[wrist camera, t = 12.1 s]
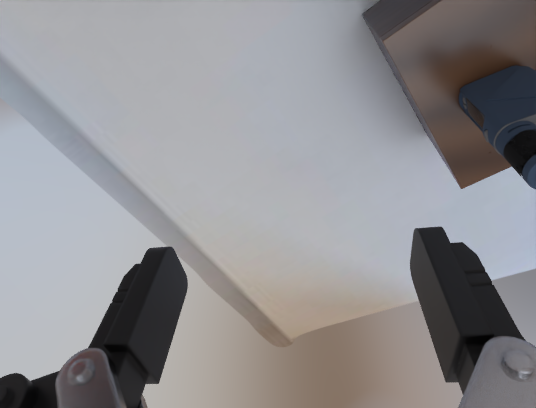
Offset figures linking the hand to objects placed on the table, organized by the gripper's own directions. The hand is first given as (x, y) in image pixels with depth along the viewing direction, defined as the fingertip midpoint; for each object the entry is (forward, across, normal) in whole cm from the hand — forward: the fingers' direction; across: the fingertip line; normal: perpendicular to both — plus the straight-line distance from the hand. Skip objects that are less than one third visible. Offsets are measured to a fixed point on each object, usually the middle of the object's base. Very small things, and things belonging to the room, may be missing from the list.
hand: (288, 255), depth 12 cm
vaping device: (+20, -15, +4) cm, 25 cm away
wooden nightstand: (+30, -15, +4) cm, 34 cm away
